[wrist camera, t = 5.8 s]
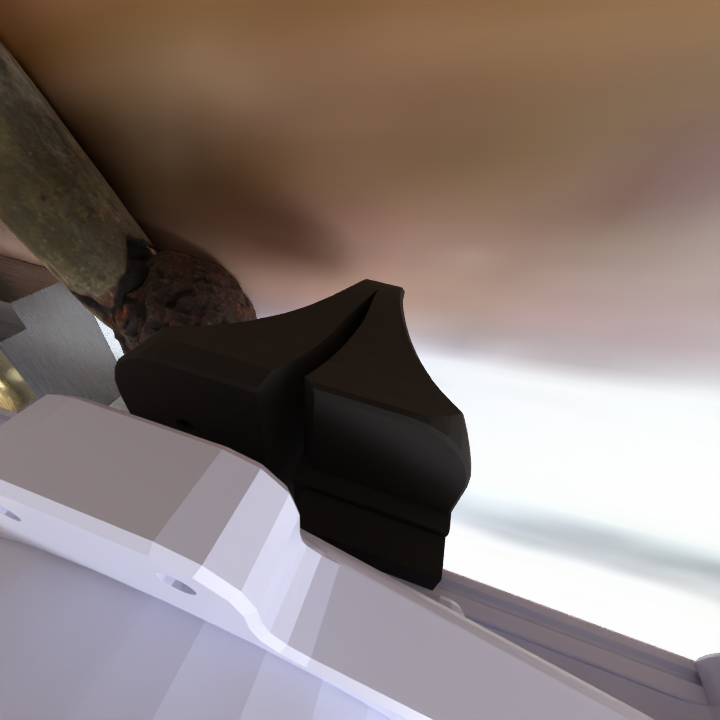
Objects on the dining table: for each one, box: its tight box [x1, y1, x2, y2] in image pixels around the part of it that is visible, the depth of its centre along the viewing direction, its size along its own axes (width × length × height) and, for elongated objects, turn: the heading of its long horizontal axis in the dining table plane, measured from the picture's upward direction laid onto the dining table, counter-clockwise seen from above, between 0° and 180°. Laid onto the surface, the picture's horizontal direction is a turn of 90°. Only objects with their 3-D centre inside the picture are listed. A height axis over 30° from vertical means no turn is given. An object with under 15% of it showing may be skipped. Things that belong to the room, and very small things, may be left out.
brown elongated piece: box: [0, 41, 257, 355], centre depth 15 cm, size 18×7×6 cm, turn 30°
